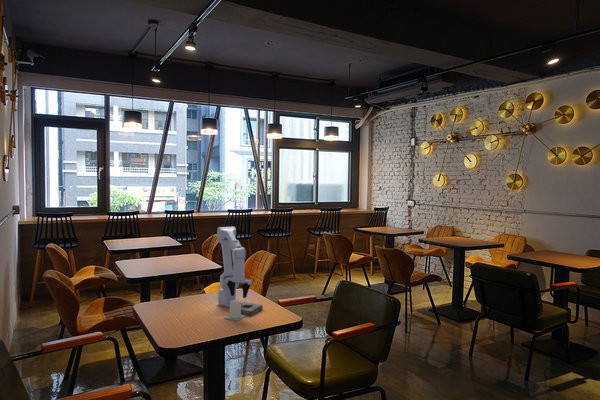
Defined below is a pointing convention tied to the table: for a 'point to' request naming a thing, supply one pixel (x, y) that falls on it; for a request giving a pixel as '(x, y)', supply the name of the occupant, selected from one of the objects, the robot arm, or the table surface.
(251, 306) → the pocket board
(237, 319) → the mat
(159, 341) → the table surface
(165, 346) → the table surface
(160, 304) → the table surface
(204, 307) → the table surface
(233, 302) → the block
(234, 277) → the robot arm
